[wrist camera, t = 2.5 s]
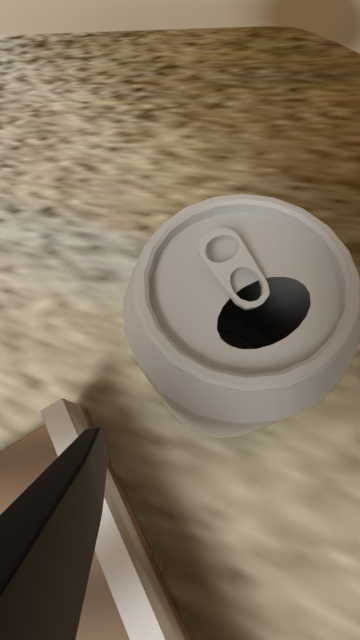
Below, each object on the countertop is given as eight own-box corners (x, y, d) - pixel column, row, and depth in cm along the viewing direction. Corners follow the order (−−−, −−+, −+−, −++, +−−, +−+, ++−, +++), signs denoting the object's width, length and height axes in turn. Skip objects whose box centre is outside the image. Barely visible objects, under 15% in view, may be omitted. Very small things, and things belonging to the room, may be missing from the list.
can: (202, 465, 17) (208, 491, 6) (139, 358, 20) (64, 244, 9) (305, 393, 18) (462, 307, 7) (232, 301, 21) (267, 139, 10)
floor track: (235, 737, 13) (247, 830, 10) (-48, 981, 11) (-150, 1200, 8) (85, 407, 19) (61, 398, 16) (-117, 527, 17) (-191, 545, 14)
